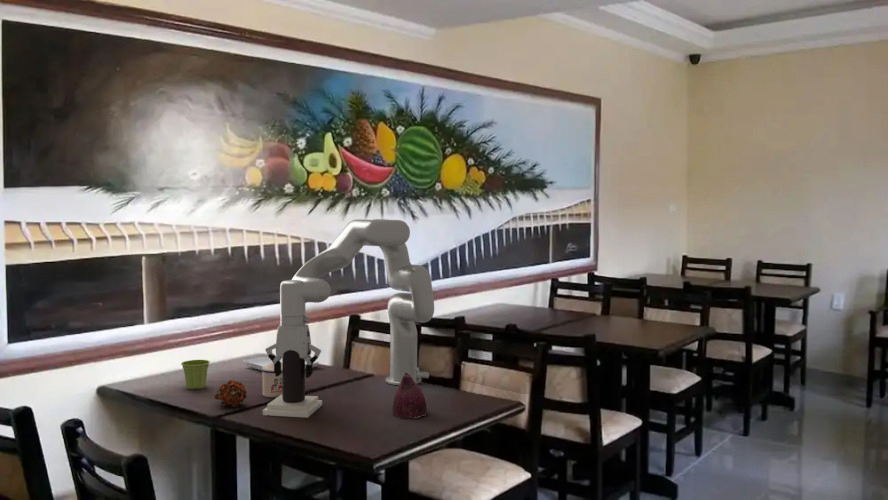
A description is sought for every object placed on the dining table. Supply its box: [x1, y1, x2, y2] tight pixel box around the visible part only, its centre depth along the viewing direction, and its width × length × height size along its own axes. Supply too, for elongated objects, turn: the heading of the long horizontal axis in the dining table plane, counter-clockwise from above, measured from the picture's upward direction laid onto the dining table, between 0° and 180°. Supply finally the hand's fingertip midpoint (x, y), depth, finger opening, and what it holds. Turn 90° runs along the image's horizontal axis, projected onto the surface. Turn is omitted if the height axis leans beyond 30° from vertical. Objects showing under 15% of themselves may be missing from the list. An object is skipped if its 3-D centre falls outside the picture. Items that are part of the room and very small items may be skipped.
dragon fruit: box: [213, 379, 248, 408], centre depth 240 cm, size 8×8×12 cm
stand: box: [262, 395, 323, 419], centre depth 235 cm, size 14×14×3 cm
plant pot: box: [180, 359, 211, 390], centre depth 262 cm, size 9×9×9 cm
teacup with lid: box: [261, 362, 282, 399], centre depth 254 cm, size 12×9×12 cm
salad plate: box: [243, 354, 320, 372], centre depth 292 cm, size 21×21×3 cm
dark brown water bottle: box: [282, 350, 306, 403], centre depth 235 cm, size 7×7×20 cm
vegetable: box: [391, 372, 428, 419], centre depth 230 cm, size 10×10×15 cm
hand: (293, 376), depth 235 cm, fingers open, 9 cm apart
